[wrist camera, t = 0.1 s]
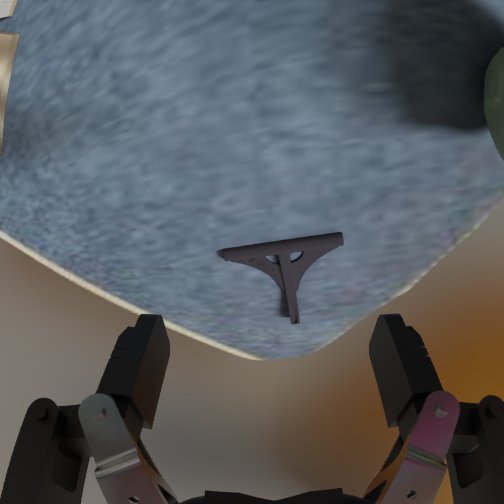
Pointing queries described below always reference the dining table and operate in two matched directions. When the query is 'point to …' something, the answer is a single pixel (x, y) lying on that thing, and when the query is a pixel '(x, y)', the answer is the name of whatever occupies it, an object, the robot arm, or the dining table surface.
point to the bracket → (286, 261)
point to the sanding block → (7, 7)
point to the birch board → (6, 71)
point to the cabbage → (495, 100)
